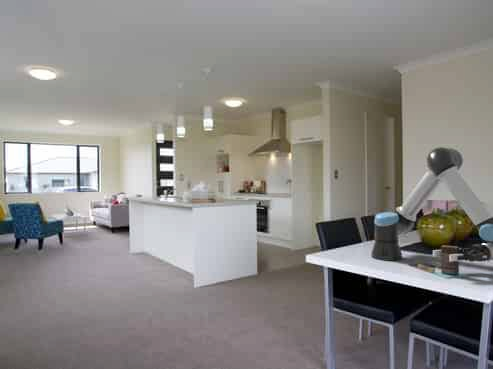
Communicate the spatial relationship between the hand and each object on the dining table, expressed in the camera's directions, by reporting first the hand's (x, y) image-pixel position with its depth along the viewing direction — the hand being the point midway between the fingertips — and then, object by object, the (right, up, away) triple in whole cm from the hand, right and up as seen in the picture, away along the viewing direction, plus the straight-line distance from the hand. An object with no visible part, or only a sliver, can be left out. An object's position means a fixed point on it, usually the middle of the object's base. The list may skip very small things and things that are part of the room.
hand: (441, 255), depth 147 cm
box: (+5, -8, +2) cm, 10 cm away
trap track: (+2, -8, +13) cm, 15 cm away
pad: (+5, -9, +2) cm, 10 cm away
